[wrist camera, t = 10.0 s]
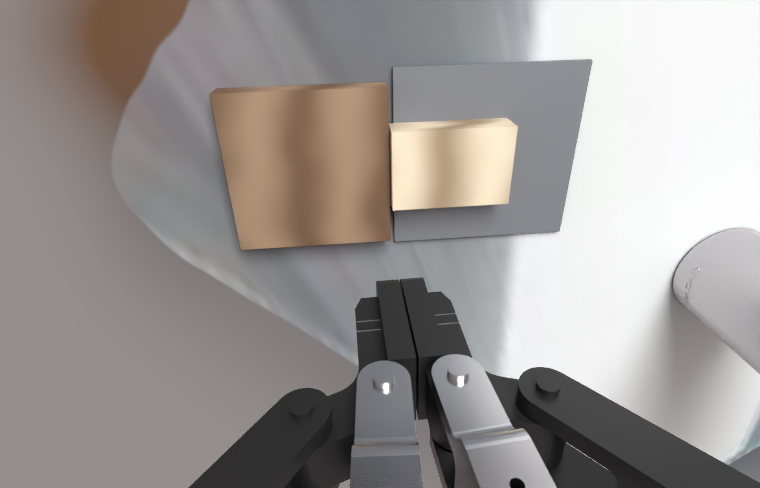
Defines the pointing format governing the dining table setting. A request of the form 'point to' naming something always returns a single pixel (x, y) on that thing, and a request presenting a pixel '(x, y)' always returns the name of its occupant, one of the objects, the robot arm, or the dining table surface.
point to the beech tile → (451, 163)
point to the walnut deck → (306, 162)
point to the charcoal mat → (533, 143)
